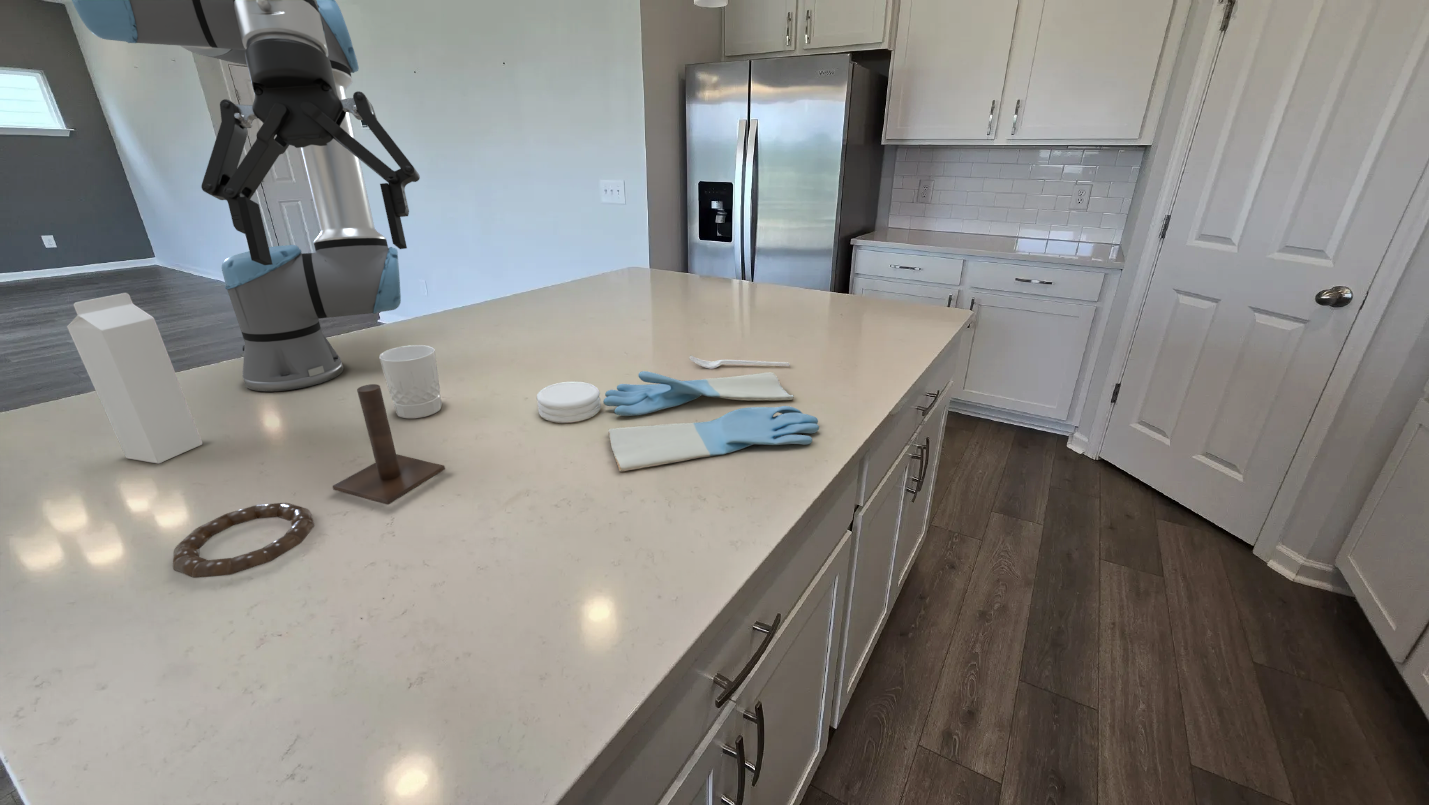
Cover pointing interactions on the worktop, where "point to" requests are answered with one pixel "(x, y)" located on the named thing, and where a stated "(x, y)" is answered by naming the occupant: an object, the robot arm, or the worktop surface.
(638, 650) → the worktop surface
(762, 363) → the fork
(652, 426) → the rubber gloves
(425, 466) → the stand
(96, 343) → the milk
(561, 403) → the white short cylinder
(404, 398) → the white cup
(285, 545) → the ring
